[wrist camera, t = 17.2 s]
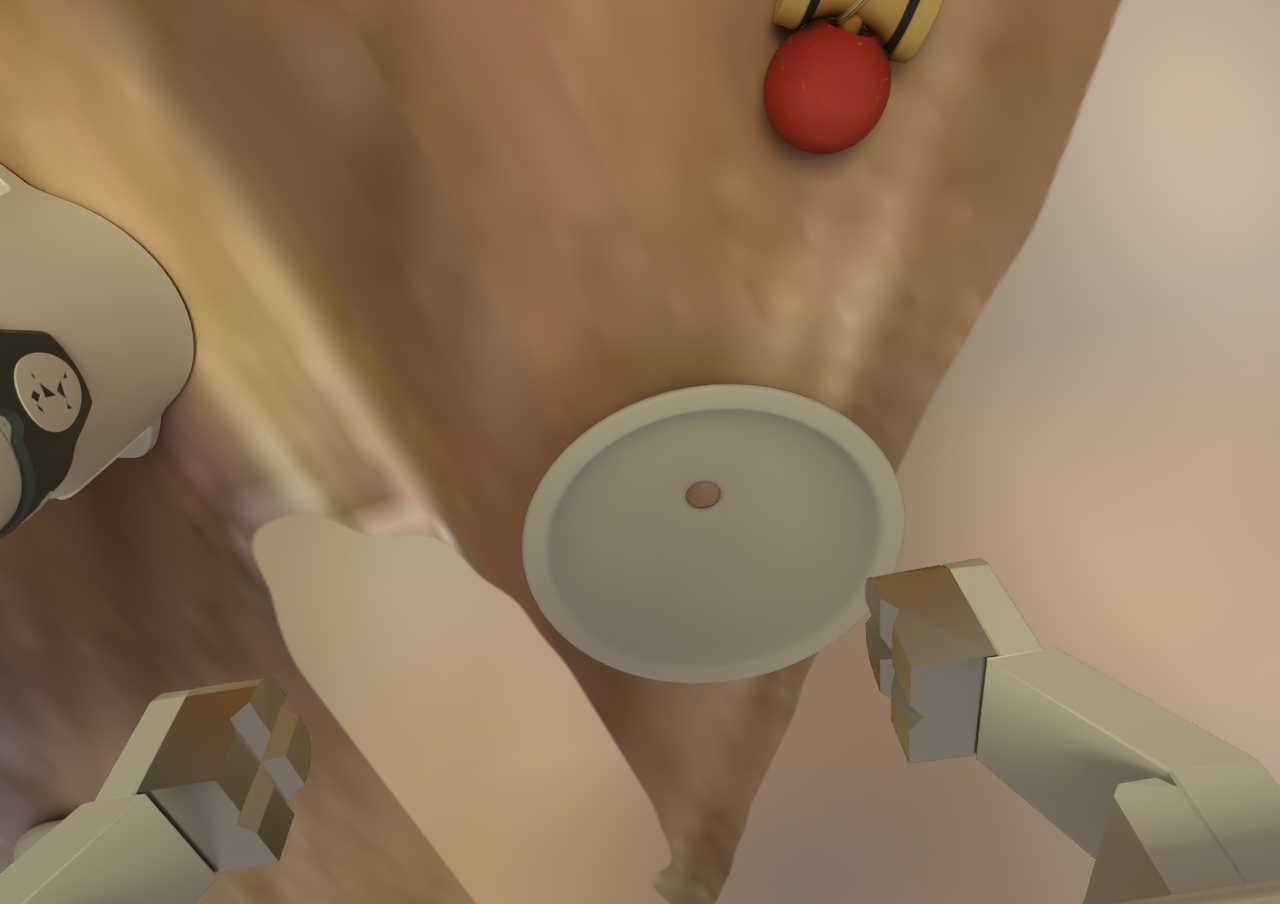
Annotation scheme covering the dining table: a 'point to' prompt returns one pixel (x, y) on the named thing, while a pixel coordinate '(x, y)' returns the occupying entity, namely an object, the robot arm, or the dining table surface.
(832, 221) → the dining table surface
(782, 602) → the soup bowl
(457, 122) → the dining table surface
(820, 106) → the kendama
